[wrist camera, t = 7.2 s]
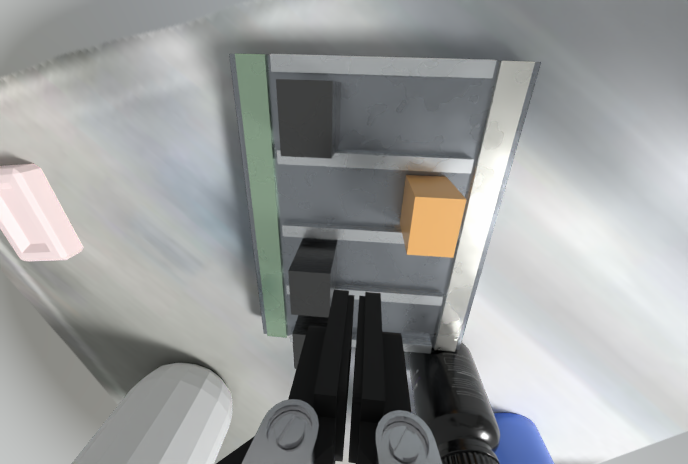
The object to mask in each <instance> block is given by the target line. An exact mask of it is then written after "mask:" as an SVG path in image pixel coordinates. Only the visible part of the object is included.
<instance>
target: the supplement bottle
mask: <svg viewBox="0 0 688 464" xmlns="http://www.w3.org/2000/svg"><path fill="white" fill-rule="evenodd" d="M409 368H410V376H411V383H412V390H413V397H414V404H415V411H416V415H417V416H418V417H419V418H421V419H422V420H423V421H424V422H425V423H426V424H427V426H428V427H429V428H430V430H431V432H432V434H433V436H434V439H435V442H436V445H437V448H438V451H439V454H440V457H441V458H442V459H443V460H444V461H445V462H446V463H447V464H500V463H499V460H498V457H497V456H496V454H495V452H496V450H497V449H498V446H499V443H500V430H499V427H498V424H497V421H496V418H495V416H494V413H493V410H492V408H491V405H490V402H489V400H488V397H487V394H486V392H485V389H484V386H483V384H482V381H481V379H480V376H479V373H478V371H477V368H476V365H475V363H474V360H473V358H472V355H471V353H470V351H469V349H468V348H467V347H466V346H465V345H464V344H462V343H461V345H460V349H459V350H455V352H452V351H440V350H434V348H432V349H431V353H430V354H428V353H416V352H411V353H410V356H409Z"/></svg>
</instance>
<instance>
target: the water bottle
mask: <svg viewBox="0 0 688 464" xmlns="http://www.w3.org/2000/svg"><path fill="white" fill-rule="evenodd" d="M494 416H495V418H496V421H497V424H498V427H499V430H500V443H499V446H498V449H497V450H496V452H495V454H496V456H497V457H498V460H499V463H500V464H554V462H553V460H552V458H551V456H550V454H549V452H548V450H547V448H546V446H545V444H544V442H543V440H542V438H541V436H540V434H539V432H538V430H537V428H536V426H535V424H534V423H533V422H532V421H531V420H530V419H528V418H526V417H524V416H521V415H518V414H514V413H494Z"/></svg>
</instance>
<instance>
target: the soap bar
mask: <svg viewBox="0 0 688 464" xmlns="http://www.w3.org/2000/svg"><path fill="white" fill-rule="evenodd" d="M0 229H1V230H2V232H3V233H4V235H5V236H6V238H7V239H8V241H9V242H10V244H11V245H12V247H13V249H14V250H15V252H16V253H17V255H18V256H19V258H20V259H22V260H24V261H49V260H67V259H69V258H71V257H72V256H74V255H76V254H78V253H79V252H81V251H82V249H83V246H82V244H81V242H80V240H79V238H78V236H77V234H76V233H75V231H74V229H73V227H72V225H71V223H70V221H69V219H68V218H67V216H66V214H65V212H64V210H63V208H62V206H61V205H60V203H59V201H58V199H57V197H56V195H55V193H54V192H53V190H52V188H51V186H50V184H49V182H48V180H47V179H46V177H45V175H44V173H43V171H42V169H41V168H40V167H38V166H37V165H35V164H34V163H33V164H20V165H6V166H0Z"/></svg>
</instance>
